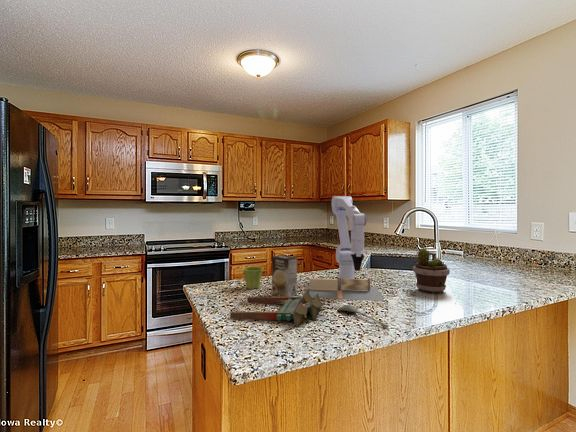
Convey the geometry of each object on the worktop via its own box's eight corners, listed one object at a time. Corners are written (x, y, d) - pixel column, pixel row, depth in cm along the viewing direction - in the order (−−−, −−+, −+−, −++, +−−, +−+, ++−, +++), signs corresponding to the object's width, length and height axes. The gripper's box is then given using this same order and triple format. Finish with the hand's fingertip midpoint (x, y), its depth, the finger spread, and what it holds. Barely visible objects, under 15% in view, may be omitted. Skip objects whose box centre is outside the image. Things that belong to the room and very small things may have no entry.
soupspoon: (348, 310, 117) (333, 313, 114) (347, 301, 117) (333, 304, 114) (394, 327, 97) (378, 332, 94) (393, 316, 97) (377, 321, 94)
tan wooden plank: (341, 289, 138) (341, 278, 138) (341, 288, 139) (341, 277, 139) (370, 290, 136) (370, 279, 136) (370, 289, 137) (370, 278, 137)
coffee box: (270, 294, 133) (271, 256, 133) (280, 291, 138) (281, 254, 138) (287, 298, 127) (288, 258, 127) (297, 295, 132) (297, 256, 132)
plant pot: (259, 290, 139) (259, 271, 139) (239, 289, 142) (239, 269, 141) (266, 285, 148) (266, 267, 148) (247, 284, 151) (247, 266, 150)
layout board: (306, 285, 149) (306, 273, 148) (376, 288, 144) (376, 275, 144) (302, 298, 127) (302, 284, 127) (384, 302, 122) (384, 287, 122)
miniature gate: (251, 290, 127) (326, 288, 121) (252, 304, 127) (327, 303, 121) (224, 311, 100) (319, 311, 94) (226, 329, 101) (320, 329, 95)
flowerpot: (455, 291, 139) (456, 246, 139) (439, 297, 130) (439, 248, 129) (423, 285, 151) (423, 243, 150) (406, 290, 141) (406, 245, 140)
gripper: (368, 242, 135) (368, 273, 135) (364, 238, 149) (364, 267, 149) (351, 241, 136) (351, 273, 136) (349, 238, 150) (349, 267, 150)
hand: (357, 270), depth 143 cm, fingers closed
